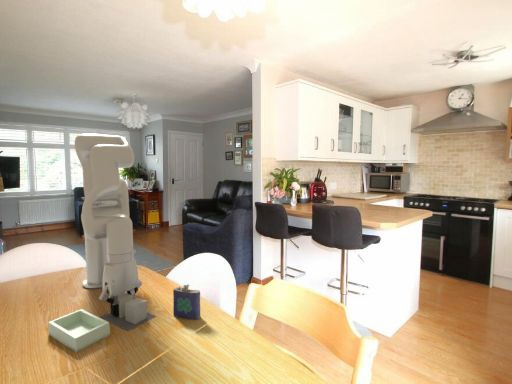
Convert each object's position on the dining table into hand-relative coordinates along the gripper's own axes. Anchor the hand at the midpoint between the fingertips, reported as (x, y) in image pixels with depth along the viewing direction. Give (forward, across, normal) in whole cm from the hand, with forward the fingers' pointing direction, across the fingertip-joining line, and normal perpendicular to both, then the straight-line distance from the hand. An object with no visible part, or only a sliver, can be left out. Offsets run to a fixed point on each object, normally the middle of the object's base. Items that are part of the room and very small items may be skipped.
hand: (122, 311), depth 94 cm
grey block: (0, 0, +7) cm, 7 cm away
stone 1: (0, 0, 0) cm, 0 cm away
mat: (+1, 0, +4) cm, 4 cm away
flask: (+1, -10, +19) cm, 21 cm away
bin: (+1, +14, +1) cm, 14 cm away
